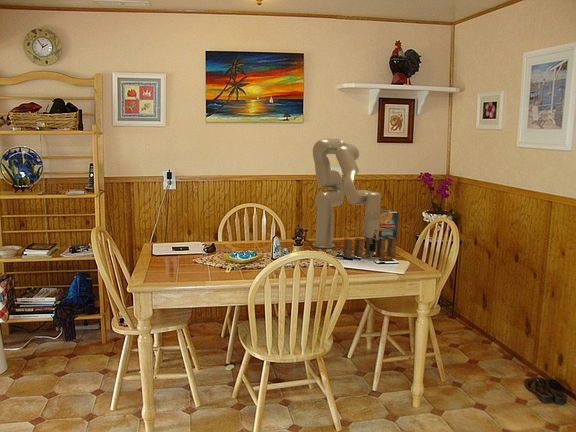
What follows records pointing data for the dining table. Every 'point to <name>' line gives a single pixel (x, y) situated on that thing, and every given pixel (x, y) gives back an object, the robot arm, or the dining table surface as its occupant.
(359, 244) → the domino
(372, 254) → the domino
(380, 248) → the domino
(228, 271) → the dining table surface
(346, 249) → the domino
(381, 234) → the beverage box
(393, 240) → the domino
